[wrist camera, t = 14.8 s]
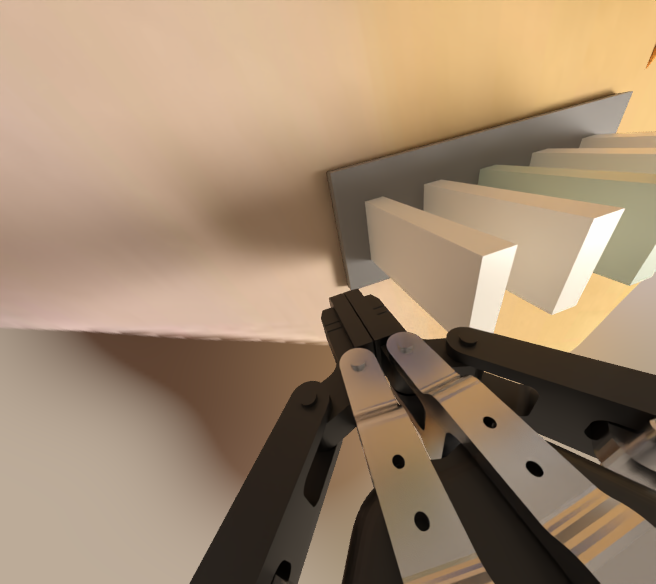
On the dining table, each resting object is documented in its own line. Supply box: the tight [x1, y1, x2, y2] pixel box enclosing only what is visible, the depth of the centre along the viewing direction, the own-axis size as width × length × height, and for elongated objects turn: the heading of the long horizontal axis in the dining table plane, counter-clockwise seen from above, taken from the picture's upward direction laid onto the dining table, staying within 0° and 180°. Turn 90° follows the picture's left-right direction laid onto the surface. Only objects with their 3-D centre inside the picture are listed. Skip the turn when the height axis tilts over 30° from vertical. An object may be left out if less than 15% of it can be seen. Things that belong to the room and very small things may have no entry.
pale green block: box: [478, 165, 656, 286], centre depth 16 cm, size 2×5×11 cm, turn 12°
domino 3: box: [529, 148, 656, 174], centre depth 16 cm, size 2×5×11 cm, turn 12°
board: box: [327, 91, 633, 290], centre depth 21 cm, size 26×10×1 cm, turn 102°
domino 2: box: [423, 179, 625, 315], centre depth 15 cm, size 2×5×11 cm, turn 12°
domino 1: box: [365, 197, 517, 333], centre depth 15 cm, size 2×5×11 cm, turn 12°
